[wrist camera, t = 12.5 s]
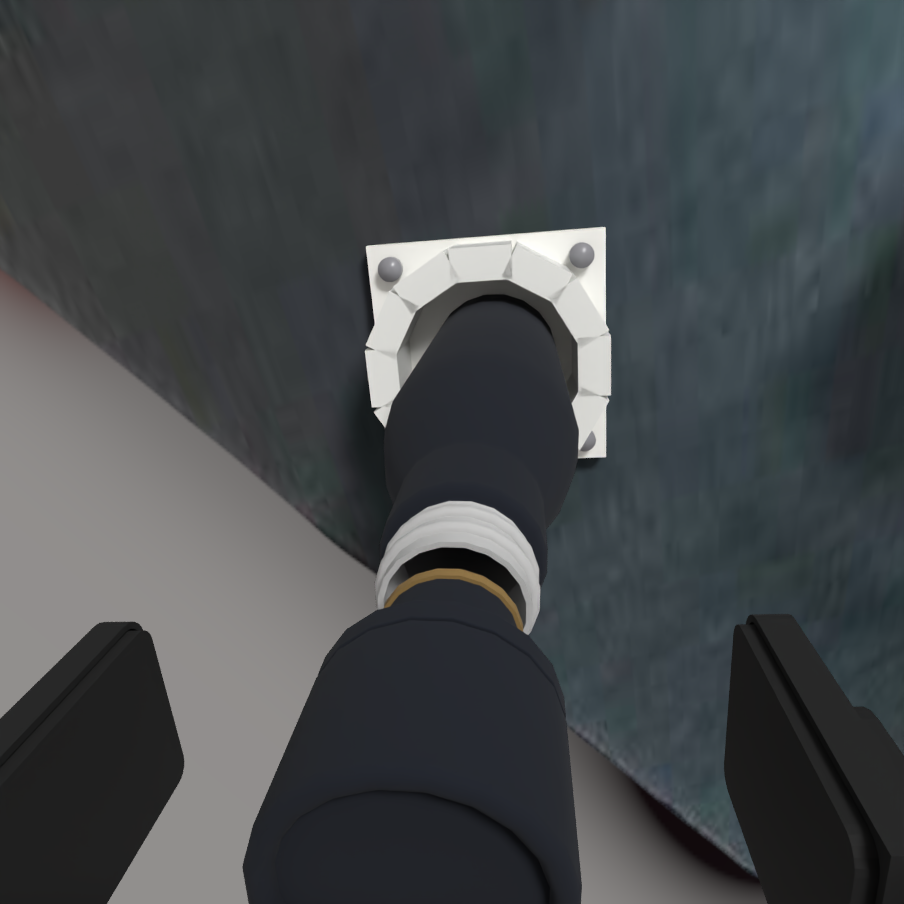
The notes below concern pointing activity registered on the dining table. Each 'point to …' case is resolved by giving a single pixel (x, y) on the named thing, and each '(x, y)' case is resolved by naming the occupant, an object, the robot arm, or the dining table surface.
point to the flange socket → (496, 272)
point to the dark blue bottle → (444, 654)
